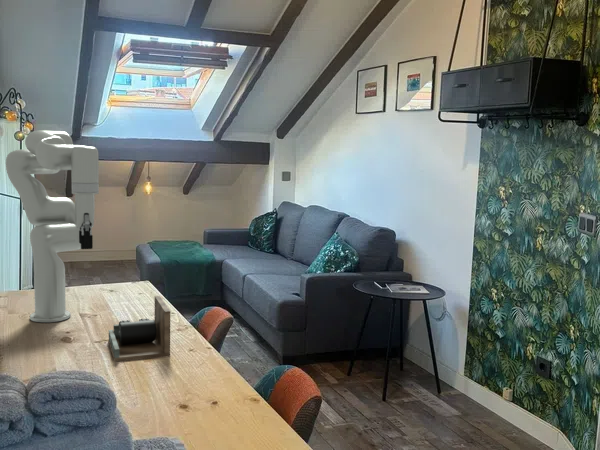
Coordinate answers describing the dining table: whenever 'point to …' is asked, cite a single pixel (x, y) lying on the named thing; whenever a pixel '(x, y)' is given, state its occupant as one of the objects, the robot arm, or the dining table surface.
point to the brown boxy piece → (145, 350)
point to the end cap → (137, 332)
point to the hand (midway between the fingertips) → (85, 246)
